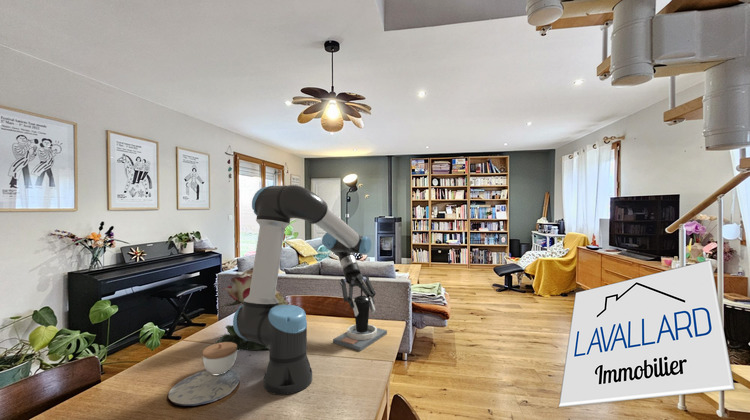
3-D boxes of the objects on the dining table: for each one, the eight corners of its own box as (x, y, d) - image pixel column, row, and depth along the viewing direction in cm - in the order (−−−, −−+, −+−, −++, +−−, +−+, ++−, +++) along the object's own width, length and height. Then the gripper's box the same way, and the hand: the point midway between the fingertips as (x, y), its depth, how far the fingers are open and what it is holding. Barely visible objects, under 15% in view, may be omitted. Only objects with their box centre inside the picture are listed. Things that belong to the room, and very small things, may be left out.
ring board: (360, 351, 125) (360, 342, 125) (332, 342, 132) (332, 334, 132) (387, 333, 142) (387, 325, 141) (361, 327, 149) (361, 319, 149)
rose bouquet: (283, 351, 125) (282, 274, 125) (208, 351, 125) (207, 274, 125) (299, 326, 151) (298, 262, 150) (237, 326, 151) (236, 262, 151)
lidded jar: (199, 381, 104) (198, 352, 104) (206, 365, 114) (206, 339, 114) (234, 376, 107) (234, 348, 107) (239, 361, 117) (239, 335, 117)
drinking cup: (371, 327, 141) (371, 281, 141) (369, 334, 134) (369, 286, 133) (354, 326, 142) (354, 281, 141) (351, 333, 134) (351, 286, 134)
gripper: (367, 270, 156) (383, 313, 141) (327, 274, 147) (340, 321, 132) (372, 261, 151) (389, 305, 137) (331, 265, 142) (345, 312, 128)
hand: (365, 313), depth 134 cm, fingers closed on drinking cup, 7 cm apart
